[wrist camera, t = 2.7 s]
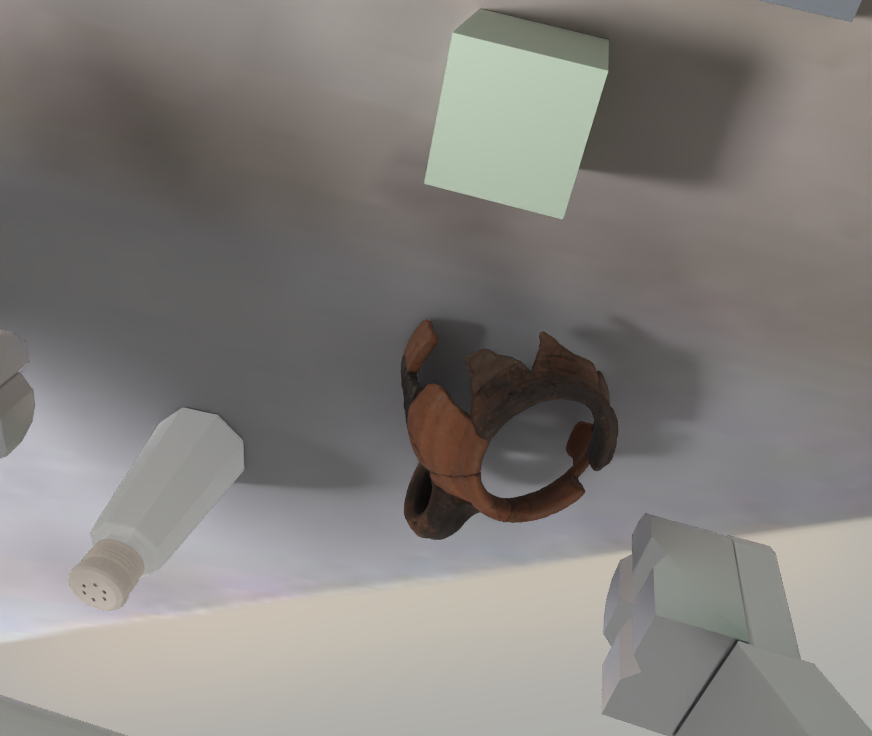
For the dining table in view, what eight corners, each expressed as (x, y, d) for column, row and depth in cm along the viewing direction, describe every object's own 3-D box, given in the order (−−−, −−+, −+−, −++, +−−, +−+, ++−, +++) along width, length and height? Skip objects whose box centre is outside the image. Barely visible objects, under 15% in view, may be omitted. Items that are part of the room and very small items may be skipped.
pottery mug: (432, 255, 35) (502, 343, 28) (587, 310, 39) (680, 397, 33) (332, 463, 39) (373, 581, 32) (482, 491, 43) (545, 599, 37)
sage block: (570, 167, 31) (562, 219, 26) (453, 137, 32) (423, 183, 27) (609, 39, 29) (608, 70, 24) (480, 8, 29) (452, 32, 24)
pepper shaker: (183, 485, 46) (75, 635, 36) (142, 411, 43) (15, 552, 34) (262, 477, 44) (170, 631, 35) (225, 399, 41) (115, 544, 32)
